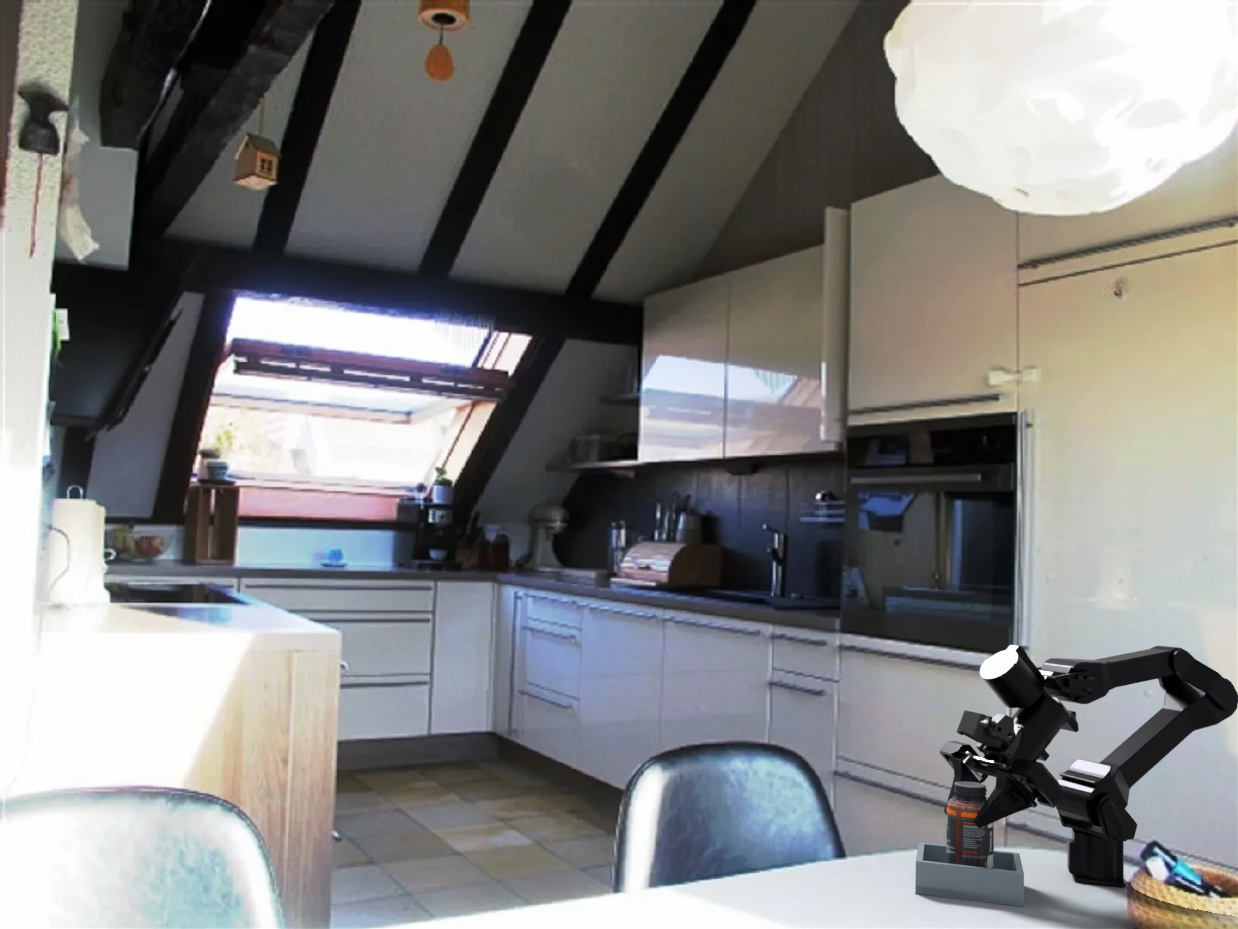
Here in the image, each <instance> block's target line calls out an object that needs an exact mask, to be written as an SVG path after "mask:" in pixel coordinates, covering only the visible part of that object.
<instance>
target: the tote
mask: <svg viewBox="0 0 1238 929" xmlns="http://www.w3.org/2000/svg"><path fill="white" fill-rule="evenodd" d="M946 847H947V844H939V843H930V842H922V841H921V842H920V841H918V844H917V852H916V858H915V883H914V884H915V891H914V892H915V894H917V895H924V896H925V895H926V896H933V897H940V898H949V899H950V898H951V899H958V900H966V901H973V902H974V901H975V902H982V903H990V904H997V905H998V904H999V905H1005V906H1014V907H1023V908H1024V907H1025V905H1024V904H1025V902H1024V900H1025V872H1024V868H1023V867H1024V866H1023V864H1022V859H1021V854H1020V852H1013V851H1011V852H1010V851H1001V850H995V849H994V869H993V868H984V867H975V866H967V865H958V864H949V863H947V859H946V858H947V848H946Z"/></svg>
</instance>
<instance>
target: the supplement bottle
mask: <svg viewBox="0 0 1238 929" xmlns="http://www.w3.org/2000/svg"><path fill="white" fill-rule="evenodd" d="M986 789H987V786H986V785H985V784H984V783H982V784H981V783H976V782H955V784H954V793H955V794H954V796H953V797H952V798H951V799H950V800H949V801H948V802H947V801H946V803H947V815H946V845H947V847H946V848H947V858H946V859H947V863H949V864H958V865H967V866H975V867H984V868H993V869H994V850H995V845H994V844H995V843H994V842H995V841H994V840H995V839H994V838H995V832H994V830H995V829H994V828H995V827H994V826H995V824H994V823H995V822H993V823H991V824H989V825H986V826H984V827H982V828H978V827H977V826H976V825H975V824H974V820H975V819H976V817H977V815H978V813H979V811H980V810H981V808H982V807H983V805H984V804H985V802H986V801H987V799H988V798H987V797H986V795H987V791H986Z"/></svg>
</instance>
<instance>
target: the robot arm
mask: <svg viewBox="0 0 1238 929" xmlns="http://www.w3.org/2000/svg"><path fill="white" fill-rule="evenodd" d="M979 676H980V677H981V678H982V679H983V681H984V682H985V683H986V684H987V685H988V686H989V688H990V689H991V690H992V691H993V693H994V694H995V695H996V696H997V698H998V699H999V700H1000V702H1002V704H1003V705H1004V706H1005V707H1006V708H1008V709H1017V710H1016V711H1015V713H1014V714H1013V715H1012V716H1009V715H1007V714H1003V713H1000V712H999V713H995V715H994V716H990V715H986V714H984V713H981V712H977V711H971V710H964V711H963V713H962V716H961V719H960V721H959V724H958V726H957V730H956V733H957V734H959V735H961V736H966V737H967V738H969V739H971V740H973V741H975V742H977V743H976V744H975V747H976V748H977V750H978V751H979V752H980V753H982V754H983V757H981V756H980V755H979V754H978V752H977V751H976V750H975V749H974V748H973V747H972V745H971V744H969V743H964V742H960V741H956V740H947V741H946V742H945V743H944V744H943V746H942V747H941V748H940V749H939V754H940V755H941V757H942V758H943V759H944V760H945V761H946V762H947V763H948V765H949V766H950V767H951V768H952V770H953V774H954V776H953V780H952V785H951V788H950V791H949V795H948V798H947V801H946V804H945V806H944V810H943V812H944V814H945V815H946V816H947V802H948V801H949V800H950V799H951V798H952V797H953V796H954V794H955V793H954V784H955V782H976V783H981V784H983V783H984V782H985V781H986V780H987V779H988V777H993V778H996V779H995V786H994V788H993V790H992V791H991V793H990V795H989V796H988V798H986V799H987V801H986V802H985V804H984V805H983V807H982V808H981V810H980V811H979V813H978V815H977V817H976V819H975V820H974V824H975V825H976V826H977V827H978V828H982V827H984V826H986V825H989V824H991V823H993V822H994V823H995V822H997V821H999V820H1003V819H1004V818H1006V817H1008V816H1011V815H1013V814H1016V813H1019V812H1022V811H1025V810H1026V809H1027V810H1028V809H1030V808H1033V809H1034V808H1036V807H1037V806H1038V803H1039V804H1040V805H1042V806H1045V807H1049V808H1052V809H1055V808H1056V811H1057V813H1058V815H1059V816H1058V817H1059V819H1060V820H1059V821H1060V824H1061V825H1062V826H1061V827H1063V828H1064V827H1065V828H1069V829H1071V838H1068V839H1067V840H1066V842H1067V847H1066V848H1067V849H1066V850H1067V852H1066V853H1067V854H1066V855H1067V856H1066V857H1067V859H1066V860H1067V865H1066V866H1067V870H1068V873H1069V874H1071V876H1072V879H1073V881H1075V882H1079V883H1081V882H1082V883H1087V884H1088V883H1089V884H1097V885H1106V886H1107V885H1108V886H1114V887H1125V888H1126V887H1127V882H1126V881H1125V877H1124V876H1125V874H1124V871H1125V870H1124V869H1125V867H1124V866H1125V865H1124V864H1125V863H1124V856H1125V855H1124V847H1125V846H1124V842H1127V841H1130V840H1134V839H1135V835H1136V832H1137V828H1138V823H1137V822H1136V821H1135V819H1134V818H1133V817H1132V816H1131V815H1130V813H1129V812H1128V811H1127V809H1126V808H1127V807H1128V804H1129V797H1130V789H1132V787H1134V786H1135V784H1136V783H1138V782H1139V781H1140V780H1141V779H1142V778H1143V777H1144V776H1146V774H1148V772H1150V771H1151V770H1152V769H1154V767H1155V766H1157V764H1159V763H1160V762H1162V760H1163V759H1164V758H1166V757H1167V756H1168V755H1169V754H1170V753H1171V752H1172V751H1173V750H1174V749H1175V748H1177V746H1179V745H1180V744H1181V743H1182V742H1183V741H1184V740H1185V739H1186V738H1188V736H1189V735H1191V734H1192V733H1194V732H1195V731H1198V730H1202V729H1205V728H1210V727H1212V726H1216V725H1218V724H1220V723H1222V722H1223V721H1225V720H1227V719H1229V718H1230V717H1232V716H1233V715H1234V713H1236V711H1237V709H1238V691H1237V690H1236V687H1235V685H1234V684H1233V683H1232V681H1231V680H1229V679H1228V678H1225V677H1224V676H1222V675H1221V674H1220V673H1219V672H1218V671H1216V670H1214V669H1213V668H1211V667H1210V666H1208V665H1206V664H1204V663H1203V662H1201V661H1199V660H1197V659H1196V658H1195V657H1194V656H1193V654H1191V653H1190V652H1189V651H1187V650H1185V649H1183V648H1182V647H1177V646H1176V647H1175V646H1167V645H1165V646H1164V645H1155V646H1153V647H1151V648H1148V649H1143V650H1138V651H1132V652H1127V653H1122V654H1117V655H1111V656H1106V657H1103V658H1102V657H1101V658H1098V659H1082V658H1081V659H1080V658H1065V657H1064V658H1063V657H1062V658H1061V657H1059V658H1057V657H1055V658H1054V657H1053V658H1051V657H1050V658H1049V659H1046V660H1045V661H1043V663H1042V666H1038V667H1037V666H1036V665H1035V663H1034V662H1033V661H1032V660H1031V658H1030V657H1029V656H1028V654H1027V652H1026V650H1025V649H1024V647H1023V646H1022V645H1018V644H1017V645H1016V644H1009V645H1008V646H1007V648H1006V649H1005V650H1004V649H1003V650H1001V651H1000V650H999V652H996V653H994V654H993V655H992V656H990V657H988V658H986V659H985V660H984V661H983V663H982V664H981V665H980V668H979ZM1153 680H1158V684H1159V686H1160V688H1161V690H1163V691H1164V692H1165V693H1164V698H1163V699H1164V701H1163V706H1162V707H1161V708H1160V710H1158V711H1157V712H1156V713H1154V715H1153V716H1151V717H1150V718H1148V720H1146V721H1145V722H1144V723H1143V724H1142V725H1141V726H1140V727H1138V728H1137V730H1135V731H1134V732H1133V733H1132V734H1131V735H1129V737H1127V738H1126V739H1125V740H1124V741H1122V742H1121V744H1119V745H1118V746H1117V747H1116V748H1115V749H1114V750H1112V751H1111V752H1110V753H1109V754H1108V755H1106V757H1104V758H1103V759H1102V760H1101V761H1100V762H1095V761H1092V760H1087V759H1082V758H1078V759H1077V760H1076V761H1074V762H1073V763H1072V765H1071V766H1070V767H1069V768H1068V769H1067V770H1065V771H1063V772H1060V773H1059V774H1058V775H1059V777H1061V778H1059V780H1057V779H1056V778H1055V777H1054V775H1053V774H1052V773H1051V771H1050V770H1049V769H1048V768H1047V767H1046V765H1045V764H1044V763H1043V762H1039V761H1038V760H1040V761H1044V762H1047V760H1048V758H1050V754H1049V753H1048V752H1047V751H1046V749H1047V748H1048V747H1049V746H1050V744H1051V743H1052V741H1053V740H1054V739H1055V738H1056V736H1057V735H1058V734H1059V732H1060V731H1061V730H1064V731H1069V732H1074V733H1078V732H1079V730H1080V729H1079V722H1078V720H1077V713H1076V711H1073V710H1069V709H1067V708H1066V706H1065V705H1064V704H1063V703H1062V702H1068V703H1072V704H1079V705H1088V704H1091V703H1094V702H1096V701H1097V700H1100V699H1102V698H1104V697H1106V696H1107V694H1108V693H1109V692H1110V691H1111V690H1113V689H1115V688H1119V687H1124V686H1128V685H1132V684H1133V685H1134V684H1139V683H1144V682H1148V681H1153ZM986 792H988V789H987V788H986ZM1036 800H1037V801H1036Z"/></svg>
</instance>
